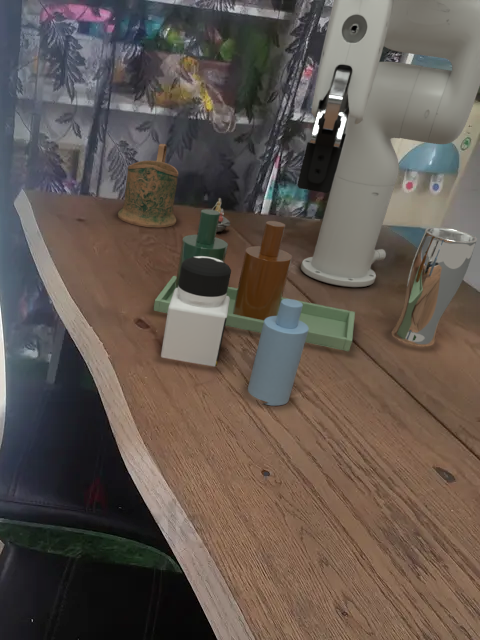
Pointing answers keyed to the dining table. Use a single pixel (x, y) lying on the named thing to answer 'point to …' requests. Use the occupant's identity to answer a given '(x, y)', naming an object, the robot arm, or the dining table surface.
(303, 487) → the dining table surface
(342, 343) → the tray
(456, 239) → the beer glass
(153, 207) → the bronze bell
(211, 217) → the green bottle
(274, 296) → the amber bottle
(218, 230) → the figurine
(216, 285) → the medicine bottle
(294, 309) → the blue bottle
